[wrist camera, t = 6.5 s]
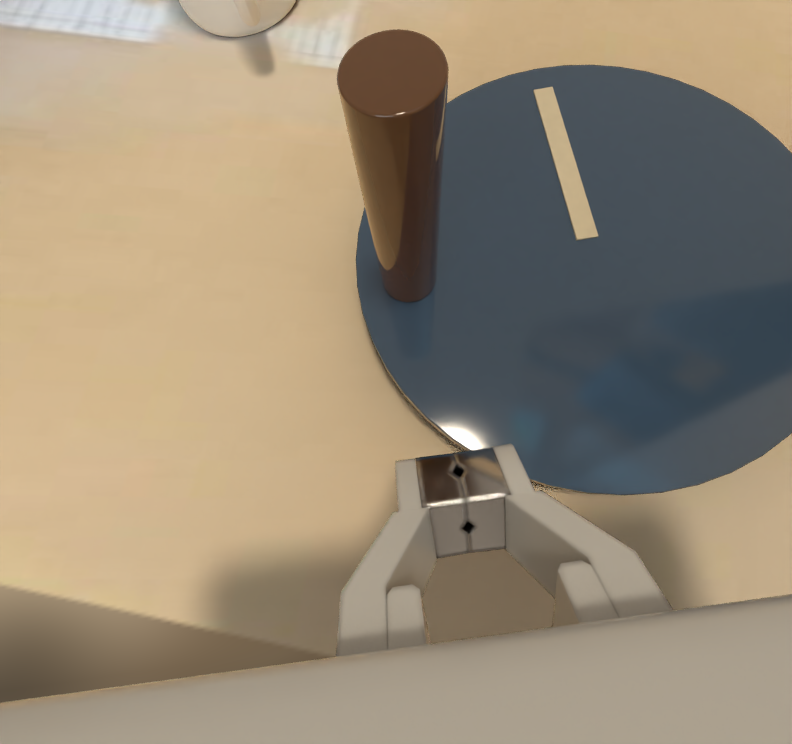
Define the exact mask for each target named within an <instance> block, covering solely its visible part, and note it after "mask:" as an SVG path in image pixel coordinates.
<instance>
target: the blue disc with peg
mask: <svg viewBox="0 0 792 744" xmlns="http://www.w3.org/2000/svg"><path fill="white" fill-rule="evenodd" d="M337 85H338V89H339V94H340V98H341V103H342V107H343V112H344V116H345V120H346V125H347V129H348V134H349V138H350V143H351V147H352V151H353V156H354V160H355V165H356V169H357V174H358V178H359V182H360V187H361V191H362V196H363V200H364V205H365V208H364V211H363V216H362V220H361V224H360V228H359V232H358V242H357V252H356V272H357V288H358V293H359V298H360V303H361V308H362V313H363V316H364V319H365V322H366V325H367V327H368V330H369V333H370V336H371V339H372V342H373V344H374V347H375V349H376V351H377V353H378V354H379V356H380V358H381V360H382V362H383V364H384V366H385V368H386V370H387V372H388V374H389V375H390V376H391V378H392V379H393V381H394V382H395V384H396V385H397V386H398V388H399V389H400V391H401V392H402V394H403V395H404V396H405V398H406V399H407V400H408V401H409V402H410V403H411V404H412V405H413V406H414V408H415V409H416V410H417V411H418V412H419V413H420V414H421V415H422V416H423V417H424V418H425V419H426V421H428V422H429V423H430V424H431V425H432V426H434V427H435V428H436V429H437V430H438V431H440V432H441V433H442V434H443V435H444V436H445V437H447V438H448V439H449V440H450V441H451V442H453V443H455V444H456V445H458V446H459V447H461V448H462V449H464V450H465V451H470V450H476V449H482V448H489V447H493V446H499V445H505V444H512V445H513V446H514V448H515V450H516V452H517V454H518V456H519V458H520V460H521V462H522V464H523V467H524V469H525V471H526V473H527V475H528V477H529V479H530V481H532V482H535V483H538V484H542V485H545V486H550V487H555V488H560V489H566V490H571V491H576V492H582V493H595V494H611V495H636V494H651V493H663V492H667V491H672V490H677V489H682V488H686V487H691V486H696V485H699V484H702V483H705V482H708V481H710V480H713V479H716V478H719V477H721V476H724V475H727V474H730V473H732V472H734V471H736V470H737V469H739V468H741V467H743V466H745V465H747V464H748V463H750V462H752V461H754V460H756V459H758V458H759V457H761V456H763V455H764V454H765V453H767V452H768V451H769V450H771V449H772V448H773V447H775V446H776V445H777V444H778V443H780V442H781V441H782V440H784V439H785V438H786V437H788V436H789V435H790V434H791V433H792V153H791V152H790V151H789V150H788V149H787V148H786V147H785V146H784V145H783V144H782V143H781V142H780V141H779V140H778V139H777V138H776V137H775V136H774V135H772V134H771V133H770V132H769V131H768V130H766V129H765V128H764V127H763V126H761V125H760V124H759V123H758V122H757V121H755V120H754V119H753V118H751V117H749V116H748V115H746V114H745V113H743V112H742V111H740V110H739V109H737V108H736V107H734V106H733V105H731V104H729V103H727V102H726V101H724V100H722V99H720V98H718V97H716V96H714V95H712V94H710V93H708V92H706V91H704V90H702V89H699V88H696V87H694V86H691V85H689V84H686V83H684V82H681V81H678V80H676V79H672V78H669V77H665V76H661V75H658V74H654V73H650V72H646V71H641V70H635V69H629V68H623V67H615V66H601V65H563V66H555V67H547V68H539V69H533V70H529V71H524V72H520V73H516V74H511V75H508V76H505V77H502V78H499V79H496V80H493V81H491V82H488V83H485V84H483V85H480V86H478V87H476V88H474V89H472V90H470V91H468V92H466V93H463V94H461V95H460V96H458V97H456V98H455V99H453V100H452V101H450V102H448V103H447V89H448V63H447V60H446V57H445V55H444V53H443V51H442V50H441V48H440V47H439V46H438V45H437V44H436V43H435V42H434V41H433V40H431V39H430V38H428V37H427V36H425V35H422V34H420V33H417V32H414V31H409V30H399V29H398V30H386V31H381V32H377V33H374V34H371V35H369V36H367V37H365V38H363V39H361V40H360V41H358V42H357V43H356V44H354V45H353V46H352V47H351V48H350V49H349V50H348V51H347V53H346V54H345V55H344V57H343V58H342V60H341V63H340V65H339V69H338V73H337Z"/></svg>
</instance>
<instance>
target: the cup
mask: <svg viewBox="0 0 792 744" xmlns="http://www.w3.org/2000/svg"><path fill="white" fill-rule="evenodd" d="M178 1H179V2H180V4H181V6H182V8H183V9H184V11H185V12H186V13H187V15H188V16H189V17H190V18H191V19H192V20H193V21H194V22H195V23H196V24H197V25H198V26H200V27H201V28H203V29H204V30H206V31H208V32H210V33H212V34H215V35H219V36H225V37H241V36H248V35H252V34H255V33H258V32H261V31H263V30H266V29H268V28H270V27H271V26H273V25H275V24H276V23H278V22H279V21H280V20H281V19H283V18H284V17H285V16H286V15H287V14H288V12H289V11H290V10H291V9H292V7H293V5H294V4H295V2H296V0H178Z"/></svg>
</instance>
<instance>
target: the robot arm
mask: <svg viewBox="0 0 792 744" xmlns="http://www.w3.org/2000/svg"><path fill="white" fill-rule="evenodd" d="M415 459H416V462H415ZM415 459H408V460H400V461H396V463H395V472H396V486H397V500H398V512H392V514H391V516H390V517H389V519H388V520H387V522H386V523H385V525H384V526H383V528H382V529H381V531H380V532H379V534H378V536H377V537H376V539H375V540H374V542H373V543H372V545H371V546H370V548H369V549H368V551H367V553H366V554H365V556H364V557H363V559H362V560H361V562H360V563H359V565H358V566H357V568H356V570H355V571H354V573H353V574H352V576H351V577H350V579H349V580H348V582H347V583H346V585H345V587H344V588H343V590H342V591H341V595H340V609H339V622H338V636H337V649H336V657H331V658H324V659H317V660H310V661H302V662H295V663H288V664H280V665H273V666H266V667H258V668H251V669H244V670H236V671H229V672H222V673H215V674H208V675H200V676H193V677H186V678H178V679H171V680H163V681H156V682H149V683H141V684H134V685H127V686H119V687H112V688H105V689H98V690H91V691H84V692H76V693H68V694H61V695H53V696H46V697H39V698H31V699H24V700H17V701H10V702H2V703H0V744H792V594H789V595H782V596H775V597H767V598H760V599H753V600H745V601H738V602H731V603H724V604H716V605H709V606H702V607H694V608H687V609H680V610H673V609H672V607H671V605H670V604H669V602H668V601H667V599H666V598H665V596H664V595H663V593H662V592H661V590H660V588H659V587H658V585H657V584H656V582H655V581H654V579H653V578H652V576H651V574H650V573H649V571H648V570H647V568H646V567H645V565H644V564H643V562H642V561H641V559H640V557H639V556H638V554H637V553H636V551H634V550H633V549H631V548H630V547H628V546H627V545H625V544H623V543H622V542H620V541H619V540H617V539H616V538H614V537H613V536H611V535H610V534H608V533H606V532H605V531H603V530H602V529H600V528H599V527H597V526H596V525H594V524H593V523H591V522H589V521H588V520H586V519H585V518H583V517H582V516H580V515H579V514H577V513H575V512H574V511H572V510H571V509H569V508H568V507H566V506H565V505H563V504H562V503H560V502H558V501H557V500H555V499H554V498H552V497H551V496H549V495H548V494H546V493H545V492H543V491H535V490H534V488H533V485H532V483H531V481H530V479H529V477H528V475H527V473H526V471H525V469H524V467H523V464H522V462H521V460H520V458H519V456H518V454H517V452H516V450H515V448H514V446H513V445H512V444H505V445H499V446H493V447H489V448H482V449H476V450H470V451H464V452H457V453H452V454H444V455H436V456H428V457H420V458H415ZM498 549H506V551H507V552H508V553H509V554H510V555H511V556H512V557H513V558H514V559H515V560H516V561H517V562H518V563H519V564H520V565H521V566H522V567H523V568H524V569H525V570H526V571H527V572H528V573H529V574H530V575H531V576H532V577H533V578H534V579H535V580H536V581H537V582H538V583H539V584H540V585H541V586H542V587H543V588H544V589H546V590H547V591H548V592H549V593H550V594H551V595H552V596H553V597H554V598H555V604H554V615H553V625H552V627H549V628H542V629H535V630H527V631H520V632H513V633H506V634H498V635H491V636H484V637H477V638H469V639H462V640H455V641H448V642H440V643H433V644H431V642H430V637H429V632H428V627H427V622H426V617H425V612H424V607H423V602H422V597H423V594H424V592H425V589H426V587H427V584H428V582H429V579H430V577H431V574H432V572H433V569H434V567H435V565H436V562H437V558H443V557H449V556H454V555H460V554H466V553H472V552H481V551H490V550H498Z"/></svg>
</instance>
